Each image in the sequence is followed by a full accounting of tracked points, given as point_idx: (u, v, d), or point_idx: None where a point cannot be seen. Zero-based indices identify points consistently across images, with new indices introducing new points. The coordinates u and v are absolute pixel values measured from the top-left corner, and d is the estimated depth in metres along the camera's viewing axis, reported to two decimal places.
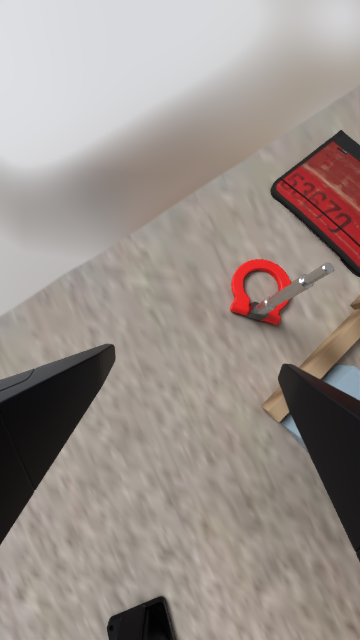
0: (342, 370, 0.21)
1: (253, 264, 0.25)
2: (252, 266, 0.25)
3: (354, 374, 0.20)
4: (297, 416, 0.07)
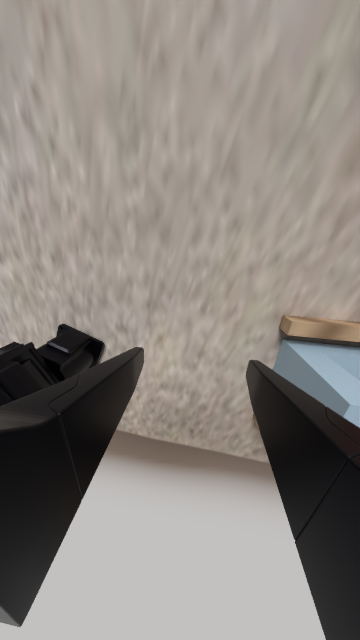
0: None
1: None
2: None
3: None
4: (257, 411, 0.07)
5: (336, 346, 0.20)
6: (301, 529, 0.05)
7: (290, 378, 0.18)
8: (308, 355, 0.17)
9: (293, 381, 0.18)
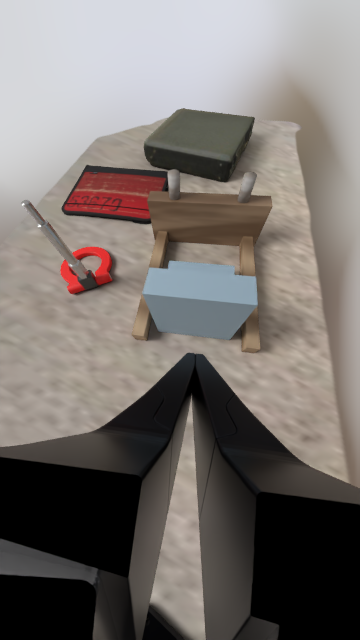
0: None
1: None
2: None
3: (172, 264, 0.26)
4: (193, 402, 0.07)
5: None
6: (201, 510, 0.05)
7: (178, 324, 0.20)
8: None
9: (177, 322, 0.20)
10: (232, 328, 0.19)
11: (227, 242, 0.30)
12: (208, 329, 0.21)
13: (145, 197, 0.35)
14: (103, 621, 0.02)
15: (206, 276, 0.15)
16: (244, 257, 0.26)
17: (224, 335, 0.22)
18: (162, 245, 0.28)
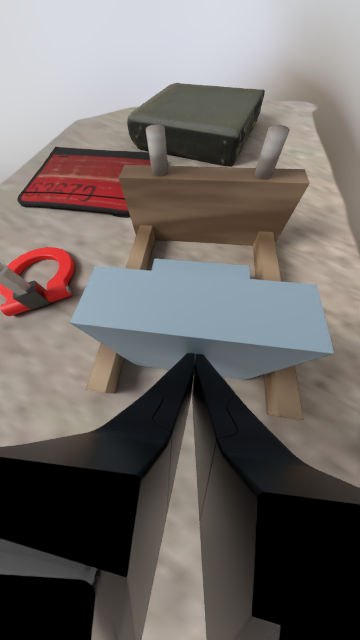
0: None
1: (19, 260, 0.21)
2: (18, 262, 0.21)
3: (158, 264, 0.18)
4: (193, 402, 0.07)
5: None
6: (202, 510, 0.05)
7: (162, 361, 0.12)
8: None
9: (160, 360, 0.12)
10: (255, 372, 0.11)
11: (236, 240, 0.21)
12: None
13: None
14: (102, 621, 0.02)
15: (210, 284, 0.07)
16: (263, 261, 0.18)
17: (238, 376, 0.14)
18: (144, 244, 0.20)
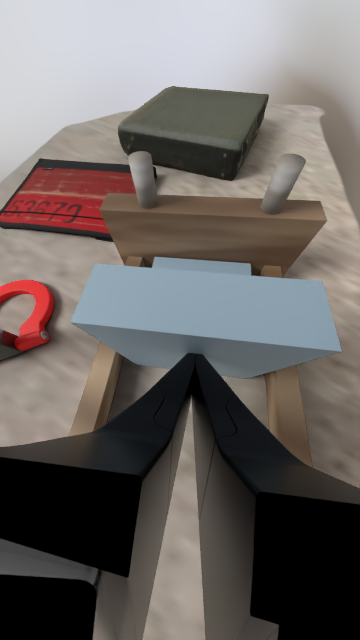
0: None
1: None
2: None
3: (159, 262, 0.17)
4: (192, 402, 0.07)
5: None
6: (201, 511, 0.05)
7: (164, 361, 0.12)
8: None
9: (161, 359, 0.12)
10: (258, 371, 0.11)
11: None
12: (215, 368, 0.12)
13: None
14: (103, 621, 0.02)
15: (214, 281, 0.07)
16: None
17: (240, 375, 0.13)
18: None
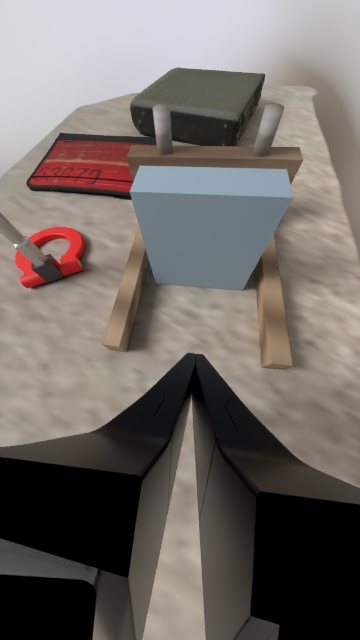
0: None
1: (32, 238, 0.22)
2: (32, 240, 0.22)
3: None
4: (193, 402, 0.07)
5: None
6: (201, 510, 0.05)
7: (179, 263, 0.16)
8: None
9: (178, 259, 0.16)
10: (249, 264, 0.15)
11: None
12: (217, 270, 0.16)
13: None
14: (103, 621, 0.02)
15: (218, 171, 0.11)
16: None
17: (237, 281, 0.18)
18: None
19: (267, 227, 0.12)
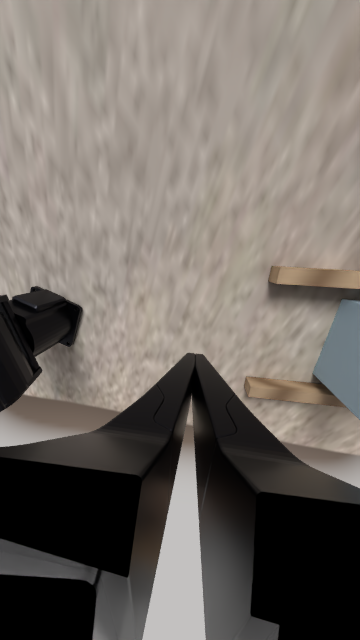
0: None
1: None
2: None
3: None
4: (193, 402, 0.07)
5: None
6: (201, 510, 0.05)
7: None
8: None
9: None
10: (340, 393, 0.18)
11: None
12: (340, 366, 0.18)
13: None
14: (103, 621, 0.02)
15: None
16: None
17: (323, 374, 0.20)
18: None
19: None
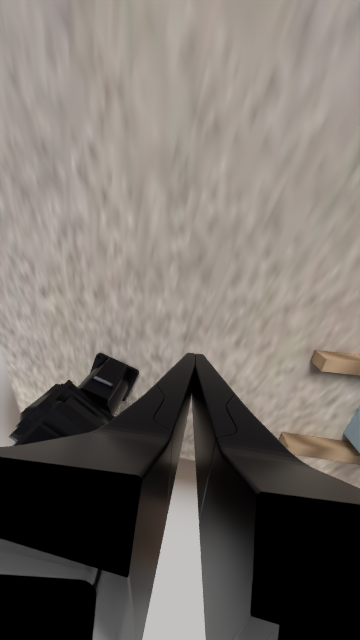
0: None
1: None
2: None
3: None
4: (193, 402, 0.07)
5: None
6: (201, 510, 0.05)
7: None
8: None
9: None
10: None
11: None
12: None
13: None
14: (103, 621, 0.02)
15: None
16: None
17: (355, 439, 0.23)
18: None
19: None
